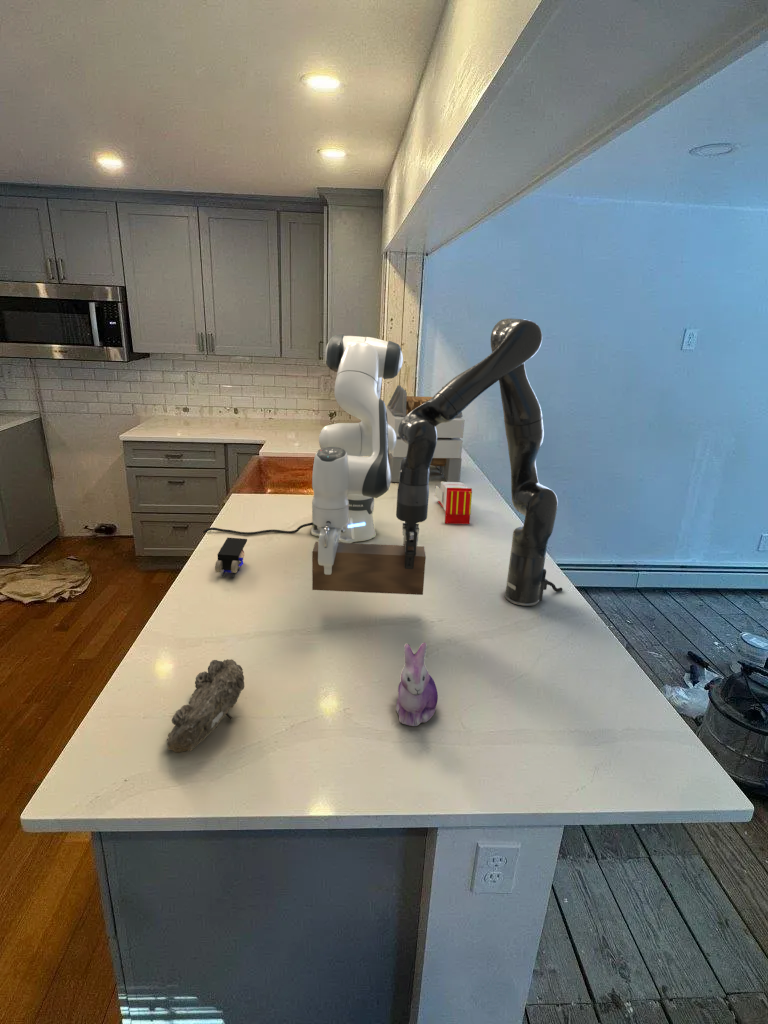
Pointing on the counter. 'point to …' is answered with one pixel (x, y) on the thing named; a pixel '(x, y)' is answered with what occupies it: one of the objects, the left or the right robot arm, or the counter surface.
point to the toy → (455, 502)
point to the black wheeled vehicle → (230, 556)
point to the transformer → (447, 437)
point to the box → (370, 569)
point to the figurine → (416, 689)
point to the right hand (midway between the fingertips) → (408, 561)
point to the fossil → (206, 705)
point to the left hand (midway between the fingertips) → (329, 566)
